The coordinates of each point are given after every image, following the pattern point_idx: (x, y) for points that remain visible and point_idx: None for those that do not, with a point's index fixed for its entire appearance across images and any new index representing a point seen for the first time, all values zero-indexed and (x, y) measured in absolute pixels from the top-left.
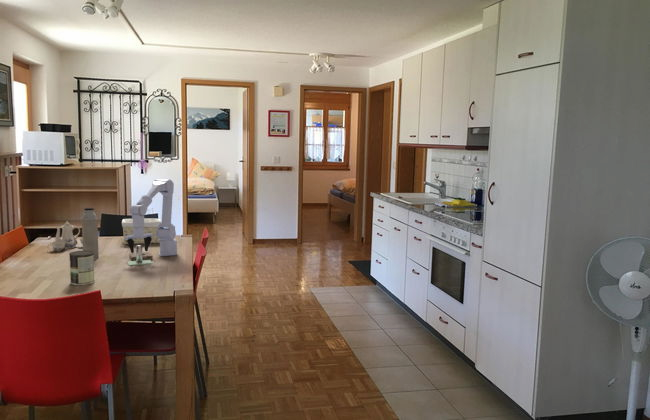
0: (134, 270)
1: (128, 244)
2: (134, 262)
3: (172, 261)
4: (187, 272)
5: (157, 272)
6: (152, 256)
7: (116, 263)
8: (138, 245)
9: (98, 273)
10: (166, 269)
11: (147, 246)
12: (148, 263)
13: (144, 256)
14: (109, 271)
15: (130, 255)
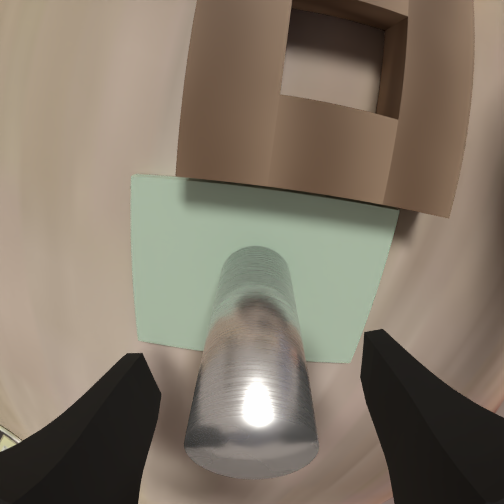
0: (174, 440)
1: (37, 438)
2: (199, 277)
3: (494, 323)
4: (379, 497)
5: (279, 489)
6: (443, 214)
7: (46, 181)
8: (243, 446)
9: (9, 389)
10: (343, 468)
11: (389, 446)
12: (315, 360)
13: (358, 199)
14: (43, 389)
15: (190, 40)
